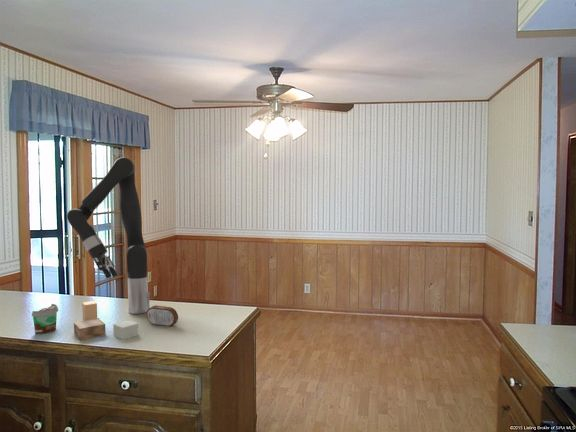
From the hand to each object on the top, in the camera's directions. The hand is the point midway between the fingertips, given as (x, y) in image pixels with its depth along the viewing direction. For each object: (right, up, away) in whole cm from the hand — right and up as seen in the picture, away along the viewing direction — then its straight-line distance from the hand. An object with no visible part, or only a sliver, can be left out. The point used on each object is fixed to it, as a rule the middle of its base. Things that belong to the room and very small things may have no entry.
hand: (112, 276), depth 211 cm
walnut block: (-1, -22, -21) cm, 30 cm away
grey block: (+14, -22, -22) cm, 34 cm away
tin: (+26, -21, -9) cm, 34 cm away
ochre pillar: (-7, -20, -9) cm, 23 cm away
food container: (-21, -21, -16) cm, 34 cm away
